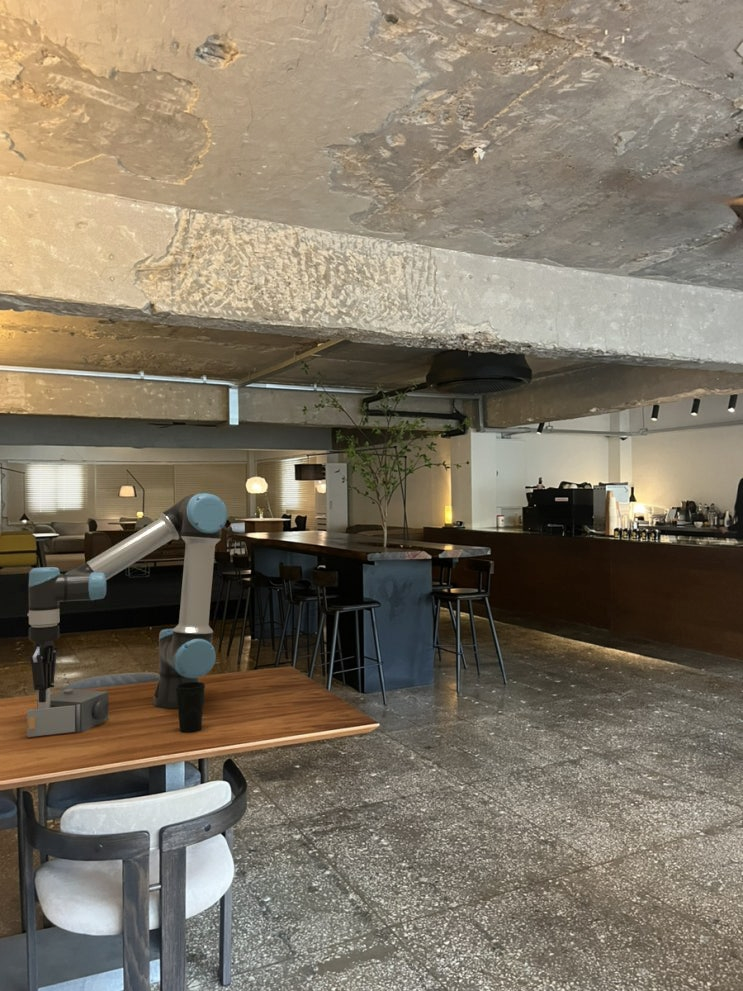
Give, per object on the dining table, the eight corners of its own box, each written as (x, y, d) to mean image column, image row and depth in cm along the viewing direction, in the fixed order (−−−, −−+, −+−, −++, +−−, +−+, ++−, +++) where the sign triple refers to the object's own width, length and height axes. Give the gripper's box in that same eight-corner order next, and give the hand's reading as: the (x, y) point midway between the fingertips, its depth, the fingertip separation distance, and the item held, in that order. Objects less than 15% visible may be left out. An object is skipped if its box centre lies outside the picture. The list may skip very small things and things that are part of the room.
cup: (178, 735, 190) (177, 689, 190) (173, 727, 197) (173, 683, 197) (207, 731, 193) (207, 686, 193) (202, 724, 200) (202, 680, 200)
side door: (75, 730, 193) (75, 705, 194) (75, 732, 192) (74, 706, 192) (27, 736, 189) (27, 710, 189) (27, 737, 188) (27, 711, 188)
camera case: (113, 720, 205) (113, 689, 205) (84, 733, 192) (84, 700, 192) (66, 717, 209) (65, 686, 209) (34, 730, 196) (34, 697, 196)
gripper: (39, 621, 200) (39, 707, 199) (19, 629, 187) (19, 720, 186) (67, 621, 200) (67, 706, 200) (48, 628, 187) (48, 719, 187)
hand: (44, 713), depth 193 cm, fingers closed
